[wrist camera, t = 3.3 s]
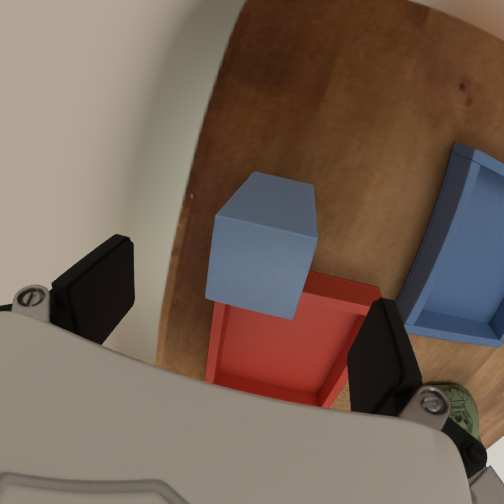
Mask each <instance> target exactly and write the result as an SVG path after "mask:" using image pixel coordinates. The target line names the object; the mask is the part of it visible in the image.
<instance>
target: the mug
mask: <svg viewBox="0 0 504 504" xmlns="http://www.w3.org/2000/svg"><path fill="white" fill-rule="evenodd" d="M434 386H435V387H437V388H439V389H441V390H442V391H443V392H444V393H445V394H446V395H447V397H448V398H449V400H450V403H451V411H450V414H449V417H450V418H451V419H452V420H454V421H455V422H456V423H457V424H459V425H460V426H461V427H462V428H464V429H465V430H466V431H467V432H469V433H470V434H471V435H472V436H474V437H475V438H476V439H477V440H479V441H480V442H481V443H482V441H481V439H480V437H479V436H478V432H479V417H478V410H477V406H476V404H475V401H474V399H473V398H472V396H471V394H470V393H469V391H468V390H467V389H465V388H463V387H460V386H458V385H434Z"/></svg>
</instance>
